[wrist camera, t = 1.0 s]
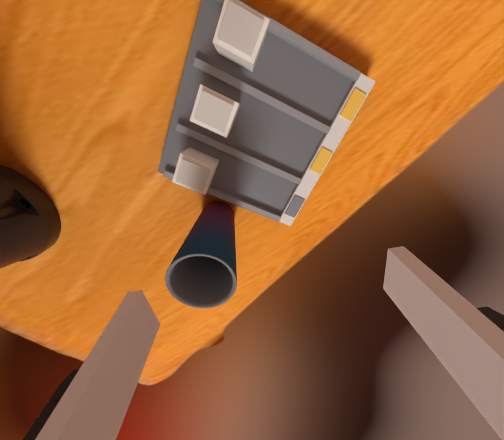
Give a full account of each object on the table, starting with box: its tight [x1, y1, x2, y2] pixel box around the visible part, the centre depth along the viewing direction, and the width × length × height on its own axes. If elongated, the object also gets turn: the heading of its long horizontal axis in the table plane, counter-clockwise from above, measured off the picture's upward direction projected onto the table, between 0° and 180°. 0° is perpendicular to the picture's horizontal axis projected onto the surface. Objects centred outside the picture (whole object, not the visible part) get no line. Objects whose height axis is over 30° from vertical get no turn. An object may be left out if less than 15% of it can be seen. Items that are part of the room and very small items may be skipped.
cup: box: [165, 202, 237, 308], centre depth 28 cm, size 7×7×15 cm
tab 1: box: [172, 147, 219, 195], centre depth 27 cm, size 4×4×5 cm
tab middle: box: [190, 84, 240, 138], centre depth 24 cm, size 4×4×5 cm
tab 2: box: [213, 0, 270, 72], centre depth 21 cm, size 4×4×5 cm
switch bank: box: [158, 0, 375, 226], centre depth 28 cm, size 20×20×3 cm
